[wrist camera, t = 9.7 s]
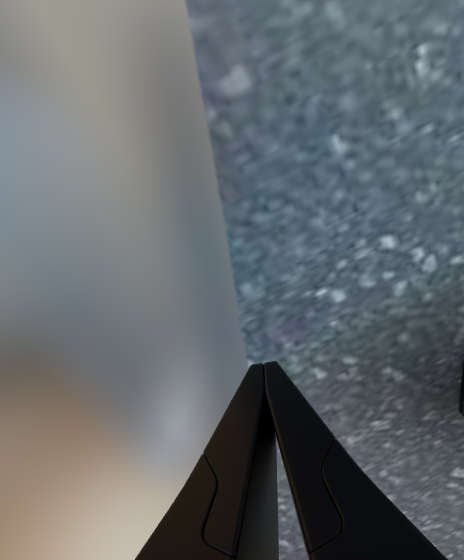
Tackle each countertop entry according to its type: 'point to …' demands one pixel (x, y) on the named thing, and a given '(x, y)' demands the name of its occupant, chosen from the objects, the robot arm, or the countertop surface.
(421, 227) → the countertop surface
